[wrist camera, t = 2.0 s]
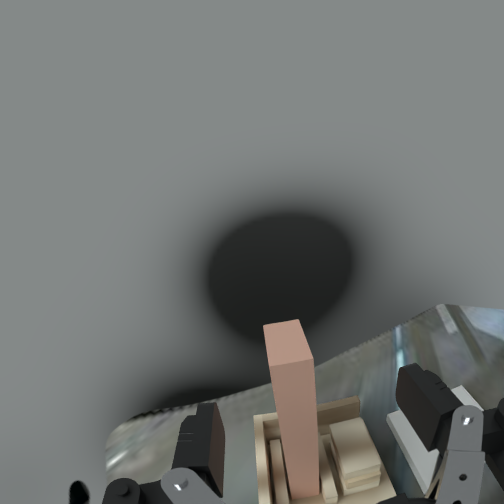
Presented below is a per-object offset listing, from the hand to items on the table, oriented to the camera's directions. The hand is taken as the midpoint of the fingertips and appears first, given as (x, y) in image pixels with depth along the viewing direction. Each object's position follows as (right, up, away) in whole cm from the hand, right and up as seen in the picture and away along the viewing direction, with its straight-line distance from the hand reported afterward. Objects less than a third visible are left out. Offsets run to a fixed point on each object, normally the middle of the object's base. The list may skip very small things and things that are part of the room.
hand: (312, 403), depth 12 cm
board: (+3, -19, +16) cm, 25 cm away
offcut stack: (+9, -18, +16) cm, 26 cm away
